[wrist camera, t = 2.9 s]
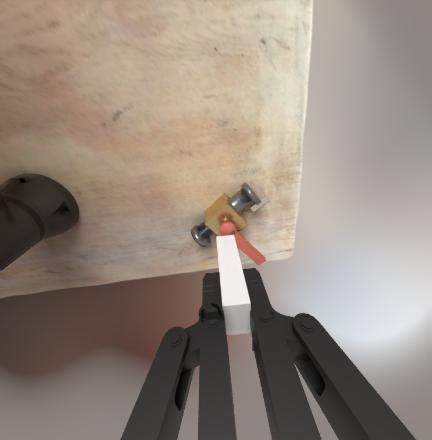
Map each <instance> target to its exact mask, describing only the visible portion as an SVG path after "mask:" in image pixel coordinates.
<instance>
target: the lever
mask: <svg viewBox="0 0 432 440" xmlns="http://www.w3.org/2000/svg"><path fill="white" fill-rule="evenodd" d="M219 232H220V235H221V236H227V235H234V237H235V241H236V245H237V247H238V248H240V249H241V250H242V251H243V252H244V253H245V254H246V255H247V256H249V257H250V258H251V259H252V260H253V261H254V262H255V263H256V264H258V265H260V264H261V263H263V262H264V261H266V259H265V257H264V256H263V255H262V254H261V253H260V252H259V251H258V250H256V249H255V248H254V247H253V246H252V245H251V244H250V243H249V242H248V241H247V240H246V239H245V238H244V237H243V236H242V235H240V234H239V233H238V232H237V231H236V227H235V225H234V224H233V223H232V222H224V223H222V224H221V225H220V227H219Z"/></svg>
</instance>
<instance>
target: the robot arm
mask: <svg viewBox="0 0 432 440" xmlns="http://www.w3.org/2000/svg"><path fill="white" fill-rule="evenodd" d="M78 214H79V212H78V206H77V204H76V201H75V200H74V198H73V196H72V195H71V194H70V193H69V191H68V190H67V189H65V188H64V187H63V186H62V185H61V184H59V183H58V182H56V181H54V180H52V179H50V178H48V177H45V176H42V175H38V174H23V175H19V176H16V177H13V178H10V179H8V180H7V181H5V182H4V183H3V184H2V185H1V186H0V271H2V270H3V269H4V268H5V267H7V266H8V265H9V264H11V263H12V262H13V261H15V260H16V259H17V258H18V257H20V256H21V255H22V254H24V253H25V252H26V251H28V250H29V249H30V248H31V247H33V246H34V245H35V244H37V243H38V242H39V241H41V240H43V239H46V238H49V237H52V236H55V235H58V234H61V233H63V232H65V231H67V230H68V229H70V228H71V227H72V226H73V225H74V224H75V223H76V221H77V219H78ZM216 238H217V250H218V261H219V272H216V273H206V275H205V276H204V278H203V300H202V303H203V304H202V306H201V308H200V310H199V317H200V319H199V321H198V322H197V323H195V324H194V325H192V326H190V327H188V328H185V329H184V328H182V327H173V328H171V329H170V330H168V331H167V332H166V333H165V335H164V337H163V339H162V341H161V344H160V346H159V349H158V351H157V353H156V356H155V358H154V360H153V363H152V365H151V368H150V370H149V372H148V375H147V377H146V380H145V382H144V384H143V387H142V389H141V392H140V394H139V397H138V399H137V401H136V404H135V406H134V408H133V411H132V413H131V416H130V418H129V420H128V423H127V425H126V428H125V430H124V433H123V435H122V438H121V440H177V437H178V433H179V430H180V425H181V421H182V417H183V413H184V409H185V405H186V401H187V397H188V393H189V388H190V384H191V380H192V376H193V372H194V368H195V367H197V366H198V365H200V372H199V417H198V440H237V436H236V426H235V416H234V406H233V395H232V385H231V375H230V365H229V355H228V345H227V335H235V334H245V333H250V332H251V333H252V339H253V340H252V344H253V345H252V346H253V348H252V349H253V351H254V353H255V358H256V363H257V368H258V373H259V378H260V382H261V387H262V392H263V397H264V402H265V407H266V412H267V417H268V422H269V427H270V431H271V436H272V440H321V437H320V434H319V432H318V429H317V426H316V423H315V420H314V417H313V415H312V412H311V409H310V406H309V404H308V401H307V398H306V395H305V392H304V389H303V387H302V384H301V381H300V378H299V375H298V373H297V370H296V367H295V365H296V366H297V368H298V370H299V372H300V373H301V375H302V377H303V379H304V380H305V382H306V384H307V385H308V387H309V389H310V391H311V392H312V394H313V396H314V398H315V399H316V401H317V402H318V404H319V406H320V408H321V410H322V411H323V413H324V414H325V416H326V418H327V420H328V422H329V423H330V425H331V427H332V428H333V430H334V432H335V434H336V435H337V437H338V439H339V440H416V439H415V438H414V437H413V435H412V434H411V433H410V432H409V430H408V429H407V428H406V427H405V426H404V425H403V423H402V422H401V421H400V420H399V418H398V417H397V416H396V415H395V413H394V412H393V411H392V410H391V409H390V407H389V406H388V405H387V404H386V403H385V402H384V400H383V399H382V398H381V397H380V395H379V394H378V393H377V392H376V391H375V389H374V388H373V387H372V386H371V384H370V383H369V382H368V381H367V380H366V378H365V377H364V376H363V375H362V374H361V372H360V371H359V370H358V369H357V367H356V366H355V365H354V364H353V363H352V361H351V360H350V359H349V358H348V357H347V356H346V354H345V353H344V352H343V350H342V349H341V348H340V347H339V346H338V344H337V343H336V342H335V341H334V340H333V338H332V337H331V336H330V335H329V334H328V332H327V331H326V330H325V329H324V328H323V326H322V325H321V324H320V323H319V321H318V320H316V319H315V318H314V317H313V316H311V315H309V314H305V313H300V314H297V315H296V316H295V317H290V316H285V315H282V314H280V313H278V312H276V311H275V310H274V309H273V308H272V306H271V304H270V301H269V299H268V296H267V293H266V290H265V287H264V285H263V282H262V279H261V276H260V273H259V272H258V271H257V270H256V269H255V268H250V269H242V265H241V261H240V257H239V253H238V249H237V245H236V241H235V237H234V235H227V236H217V237H216ZM294 363H295V364H294Z"/></svg>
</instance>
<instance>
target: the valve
mask: <svg viewBox="0 0 432 440" xmlns="http://www.w3.org/2000/svg"><path fill="white" fill-rule="evenodd" d="M241 187H242V189H241V190H240V191H239V192H238V193H236V194H235V195H234V196H233V197H232V198H231V199H230V198H229V197H228V196H227V195H226V194H225V193H224V194H223V195H222V196H221V197H220V198H219V199H217V200H216V201H215V202H214V203H213V204H212V205H211V206H210V207H208V208H207V209H206V210H205V221H204V222H203V223H202V224H201V225H199V226H195V227H193V228H192V229H191V234H192V236H193V238H194V240H195V241H196V242H197V243H198V244H199V245H201V246H203V247H206V246H208V245H209V244H210V242H211V241H210V238H209V237H210V236H211V235H212V234H213V233H216V234H217V235H218V236H221V235H220V232H219V227H220V225H221V224H222V223H224V222H232V223H233V224H234V225H235V227H236V231H237V232H239V231H240V230H241V229H242V228H244V227H245V226H246V225H248V224H247V221H246V219H245V216H244V214H243V211H242V210H243V209H244V208H245V207H246V206H248V205H249V204H250V203H251V202H254V203H255V204H254V205H253V206H252V207H250V209H251V210H252V211H253V212H255V211H256V210H257V209H259V208H260V207H261V206H262V205H264V204H265V203H266V202H267V201H269V199H268V198H267V197H266V195H265V196H264V197H263V198H262V199H259V197H258V196H257V195H256V194H255V192H254V191H253V190H252V189H251V188H250V187H249V185H248V184H247V183H244V184H243V185H242V186H241Z"/></svg>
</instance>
